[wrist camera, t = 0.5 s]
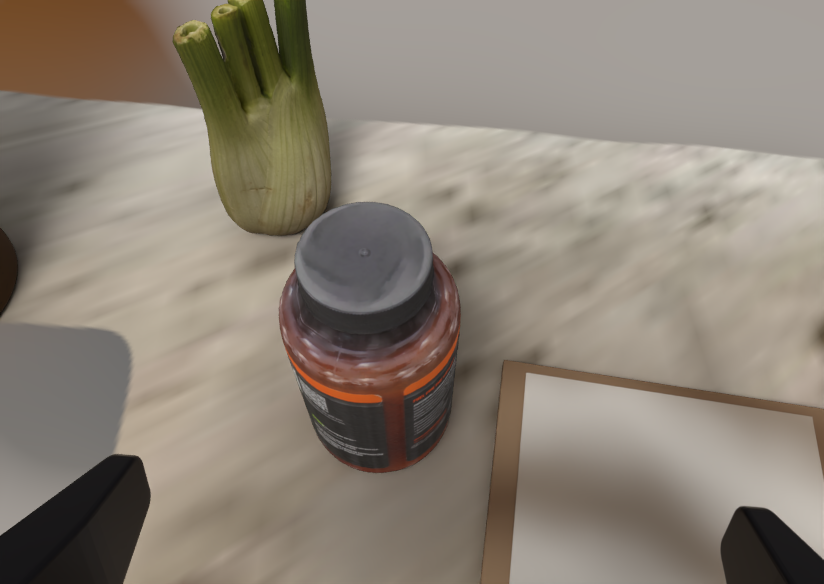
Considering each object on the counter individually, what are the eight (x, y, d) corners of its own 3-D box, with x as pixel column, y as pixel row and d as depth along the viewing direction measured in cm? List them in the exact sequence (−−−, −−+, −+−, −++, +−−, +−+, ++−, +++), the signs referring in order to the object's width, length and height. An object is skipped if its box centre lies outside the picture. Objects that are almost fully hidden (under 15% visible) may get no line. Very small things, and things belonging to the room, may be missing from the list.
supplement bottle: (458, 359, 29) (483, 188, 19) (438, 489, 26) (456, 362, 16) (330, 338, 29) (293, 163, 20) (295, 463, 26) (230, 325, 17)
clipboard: (909, 831, 20) (931, 837, 19) (464, 739, 21) (466, 740, 20) (826, 415, 27) (840, 405, 27) (502, 365, 29) (505, 354, 28)
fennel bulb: (329, 167, 35) (298, -47, 25) (352, 234, 33) (328, 25, 23) (224, 191, 34) (149, -23, 24) (240, 262, 32) (162, 56, 22)
